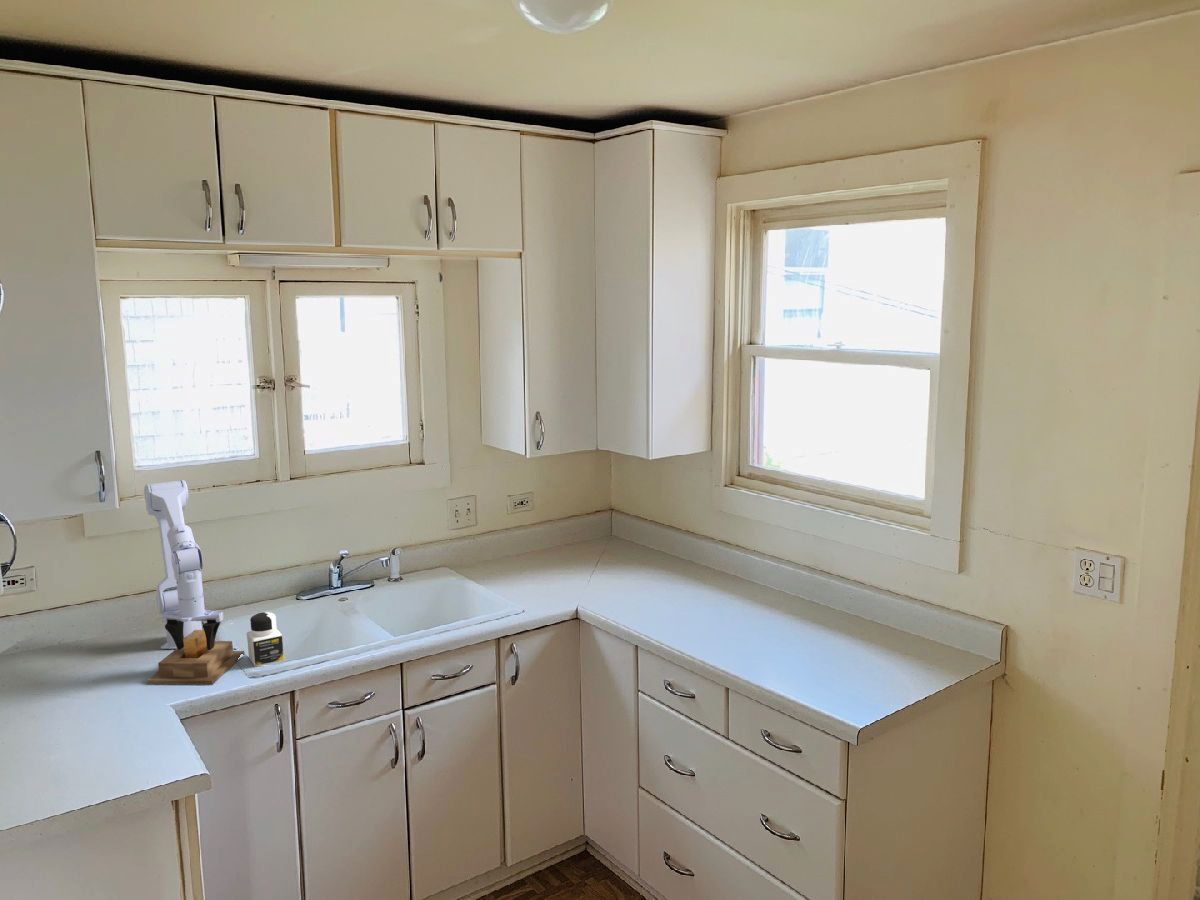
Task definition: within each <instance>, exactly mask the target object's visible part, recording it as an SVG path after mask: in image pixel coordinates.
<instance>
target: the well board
mask: <svg viewBox="0 0 1200 900" xmlns="http://www.w3.org/2000/svg"><path fill="white" fill-rule="evenodd" d="M233 646H234V645H233V641H232V640H215V643H214V647H213V648H212V649H211V650H208V651H206V652H205V653H204V654H203V655H202V656H201V657H199V658H185V652H184V647H183V648H182V649H181V650H178V649H173V651H172V652H171V653H169V654H168V655H167V656H165V657H164V658H163V659H161V660H160V661H159V662H158V664H157V665H158V671H156V673H154V674H153V675H152V676H151V677H149V678H148V679H147V680H146V682H147V683H146V684H147V685H207V686H208V685H212V686H213V685H214V684H215V683H216V682H217V681H218V680H220V678H222V676H223V675H225V674H226V673H227V672H228V671H229V670H230V669H231V668H232V667H233V666H234V665H235V664H236V663H237V662H238V661H239V660H238V658H239V657H240V655H241V654H243V655H244V656H245V654H246V653H245V650H234V647H233ZM237 660H238V661H237Z"/></svg>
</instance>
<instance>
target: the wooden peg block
mask: <svg viewBox="0 0 1200 900" xmlns="http://www.w3.org/2000/svg"><path fill="white" fill-rule="evenodd" d="M183 642H184V652H185V658H199V657H201V656H202V655H203V654H204V653H205V652H206V651H208V649H207V642H206V635H205V632H204V629H202V630H194V631H193V632H191V633H190V634H189V635H188V636H186V637H185V638H184V639H183Z"/></svg>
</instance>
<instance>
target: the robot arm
mask: <svg viewBox="0 0 1200 900" xmlns="http://www.w3.org/2000/svg"><path fill="white" fill-rule="evenodd" d="M188 489H189V488H188V485H187V482H186V480H184V479H180V480H173V481H165V482H164V481H163V482H157V483H156V482H155V483H146V484H145V485H144V488H143V494H144V501H145V507H146V512H147V514H148V515H150V516H153V517H155V519H156V521H157V524H158V531H159V536H160V544H161V552H162V558H163V565H164V573H165V577H164V578H163V579H162V580H161V581H159V583H158V584H156V587H155V591H156V592H155V597H156V599H155V600H156V606H157V610H158V613H159V614H161V618H162V620H161V621H162V623H165V625H164V628H165V629H164V630H165V631H166V632H165V633H166V640H167V642H165V643H164V644H163V645H161V646H160V649H163V650H176V649H178V650H181V649H182V648H183V647H184V642H183V639H184V638H185V637H186V636H188V635H189V634H190V633H191V632H193V631H194V630H204V632H205V635H206V642H207V649H208V650H211V649H212V648H213V647H214V643H215V641H216V637H217V632H218V629H219V627H220V625H221V623H222V621H223V620H224V611H215V610H209V609H205V599H204V589H203V579H202V578H203V576H202V570H204V569H203V568H204V557H203V553H202V549H201V548H200V546H199V544H198V543H196V541H195V538H194V534H193V530H192V528H191V527H190V526H189V525H188V524H187V525H186V524H185V517H184V512H183V511H185V509H186V507H187V505H188V501H189V490H188ZM202 622H205V623H204V624H202Z"/></svg>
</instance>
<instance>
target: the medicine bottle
mask: <svg viewBox="0 0 1200 900" xmlns="http://www.w3.org/2000/svg"><path fill="white" fill-rule="evenodd" d="M249 619H250V630H251V631H247V632H246V639H247V649H248V658H249V660H250V661H251V662H252V664H253V665H254V667H256V666H257V667H261V666H266V665H270V664H275V663H278V662H283V661H284V659H285V654H284V645H283V644H284V641H283V634H282V633H281V632H280V631H279V629H277V618H276V614H275V613H273V612H267V611H264V612H258V613H256V614H254V615H252V616H251V617H250V618H249ZM257 667H256V668H257Z"/></svg>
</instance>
